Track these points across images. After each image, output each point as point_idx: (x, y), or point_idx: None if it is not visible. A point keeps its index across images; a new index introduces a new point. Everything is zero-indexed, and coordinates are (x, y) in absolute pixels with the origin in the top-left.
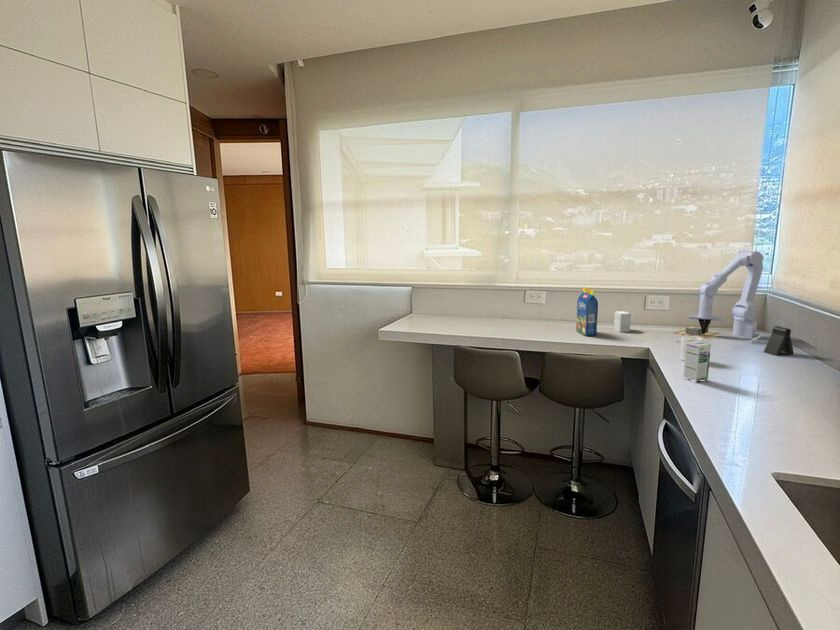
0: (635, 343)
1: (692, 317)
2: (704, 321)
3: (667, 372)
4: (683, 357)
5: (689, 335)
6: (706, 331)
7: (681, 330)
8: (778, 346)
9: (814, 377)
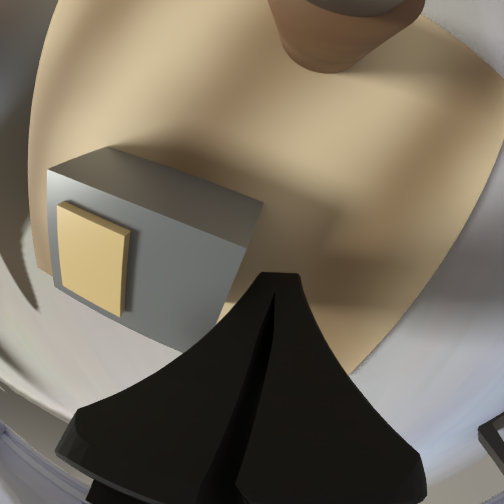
0: (72, 408)
1: (26, 471)
2: (249, 462)
3: None
4: None
5: None
6: (346, 69)
7: (42, 95)
8: (492, 458)
9: (429, 483)
